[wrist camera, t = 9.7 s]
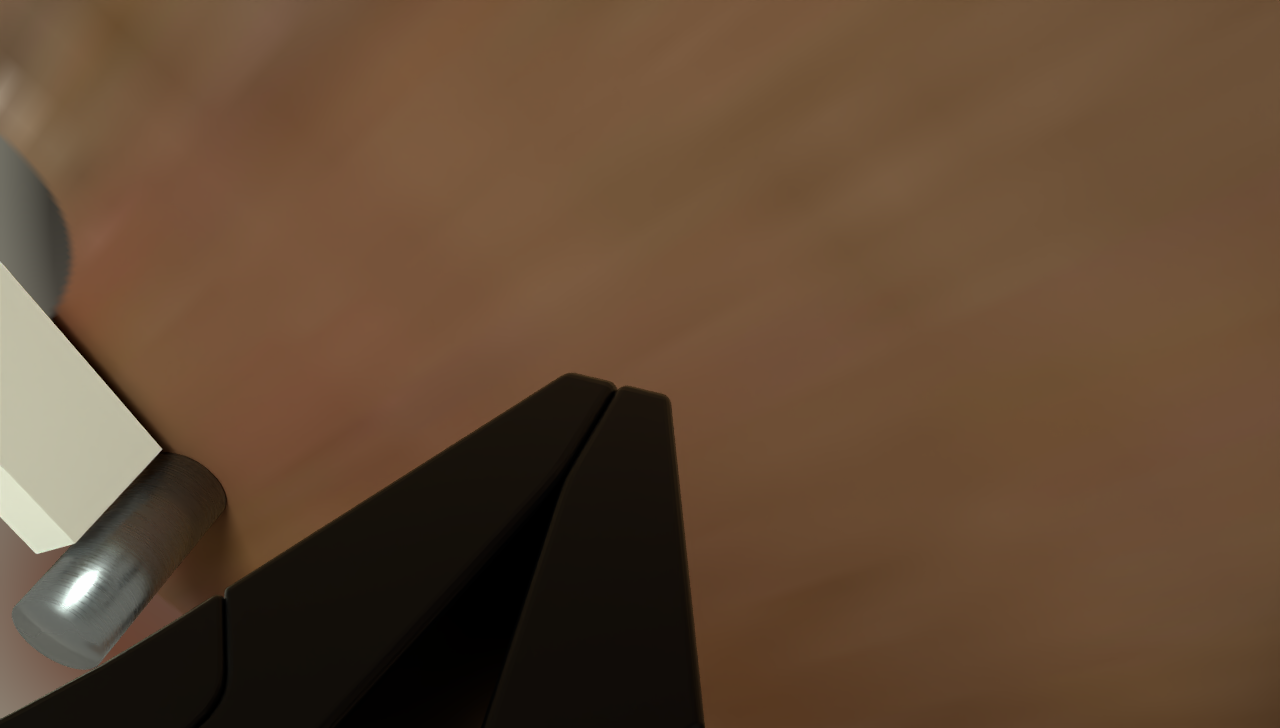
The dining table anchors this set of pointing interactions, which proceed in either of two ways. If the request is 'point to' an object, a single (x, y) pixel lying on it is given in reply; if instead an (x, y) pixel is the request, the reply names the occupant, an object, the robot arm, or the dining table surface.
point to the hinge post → (120, 562)
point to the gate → (58, 430)
